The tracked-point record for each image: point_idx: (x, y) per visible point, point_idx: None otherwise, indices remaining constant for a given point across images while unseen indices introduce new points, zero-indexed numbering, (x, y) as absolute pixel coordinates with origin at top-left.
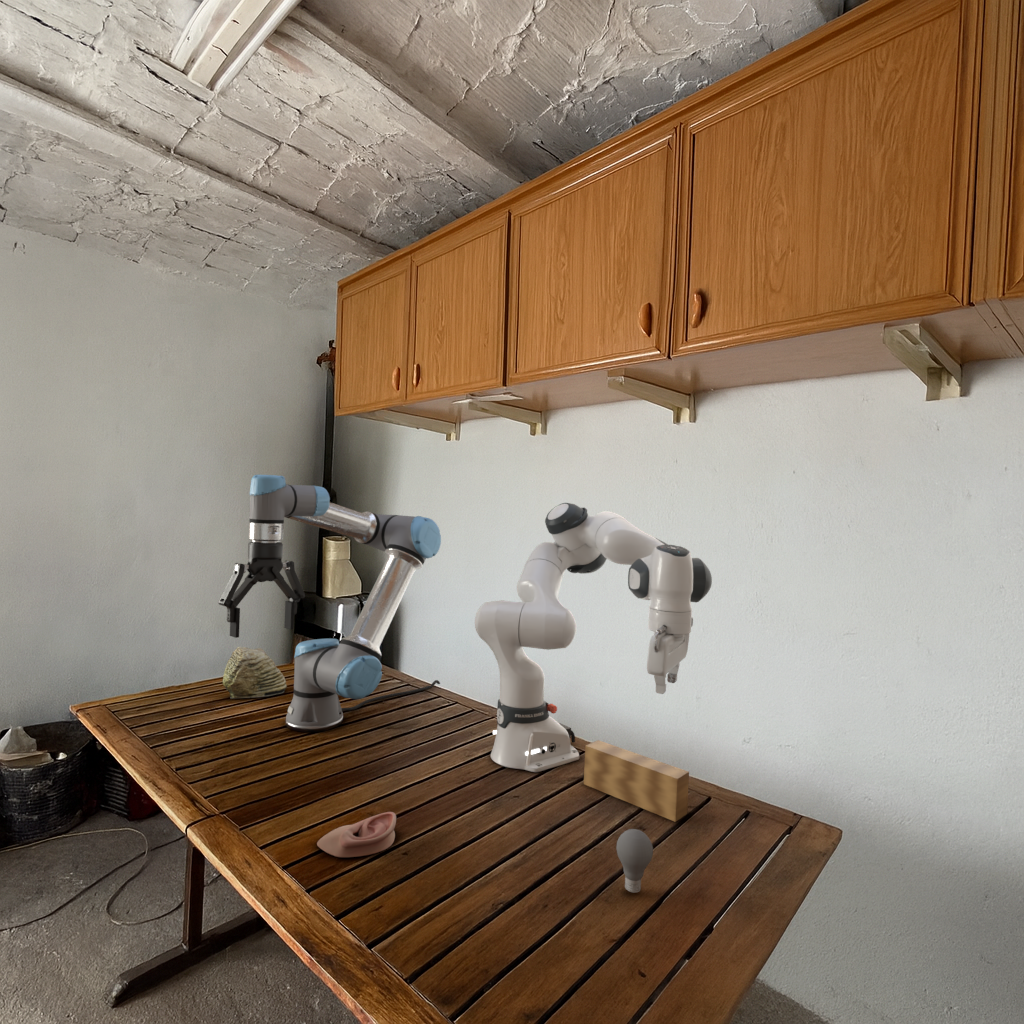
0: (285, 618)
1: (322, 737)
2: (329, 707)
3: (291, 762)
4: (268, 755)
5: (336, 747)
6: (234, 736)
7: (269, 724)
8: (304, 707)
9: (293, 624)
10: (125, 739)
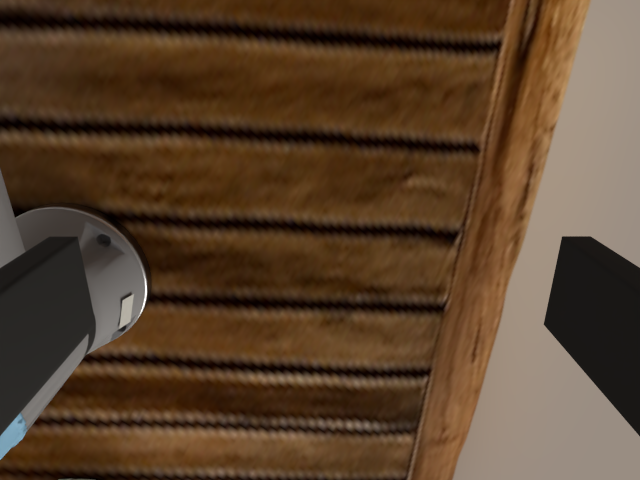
0: (48, 364)
1: (105, 172)
2: (28, 234)
3: (249, 82)
4: (270, 165)
5: (106, 83)
6: (273, 320)
7: (176, 333)
8: (97, 272)
9: (24, 253)
10: (440, 438)
